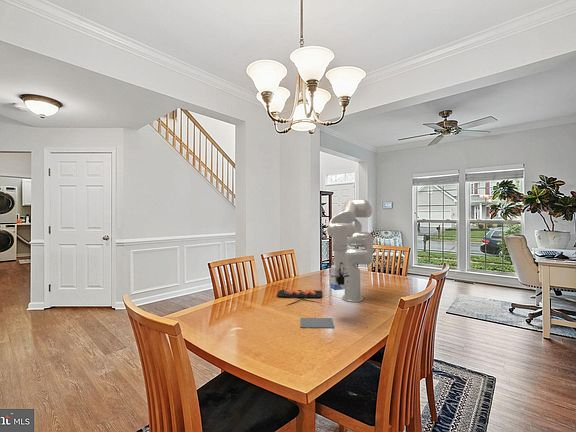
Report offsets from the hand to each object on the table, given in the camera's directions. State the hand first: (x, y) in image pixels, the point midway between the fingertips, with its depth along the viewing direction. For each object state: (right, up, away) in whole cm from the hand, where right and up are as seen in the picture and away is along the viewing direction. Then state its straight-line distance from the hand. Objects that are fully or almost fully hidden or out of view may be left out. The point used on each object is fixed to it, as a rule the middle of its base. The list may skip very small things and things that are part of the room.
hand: (340, 282), depth 158 cm
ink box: (0, -3, 0) cm, 3 cm away
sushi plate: (-20, -18, +34) cm, 43 cm away
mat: (-13, -18, -8) cm, 24 cm away
